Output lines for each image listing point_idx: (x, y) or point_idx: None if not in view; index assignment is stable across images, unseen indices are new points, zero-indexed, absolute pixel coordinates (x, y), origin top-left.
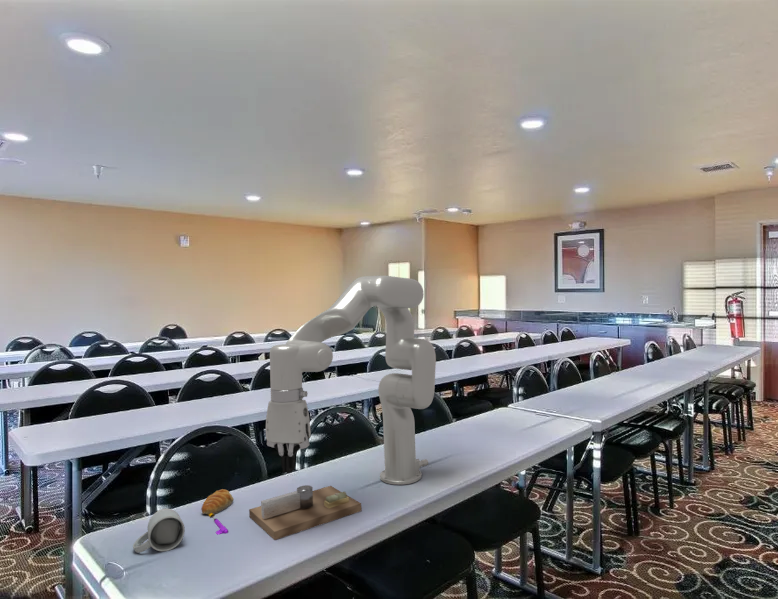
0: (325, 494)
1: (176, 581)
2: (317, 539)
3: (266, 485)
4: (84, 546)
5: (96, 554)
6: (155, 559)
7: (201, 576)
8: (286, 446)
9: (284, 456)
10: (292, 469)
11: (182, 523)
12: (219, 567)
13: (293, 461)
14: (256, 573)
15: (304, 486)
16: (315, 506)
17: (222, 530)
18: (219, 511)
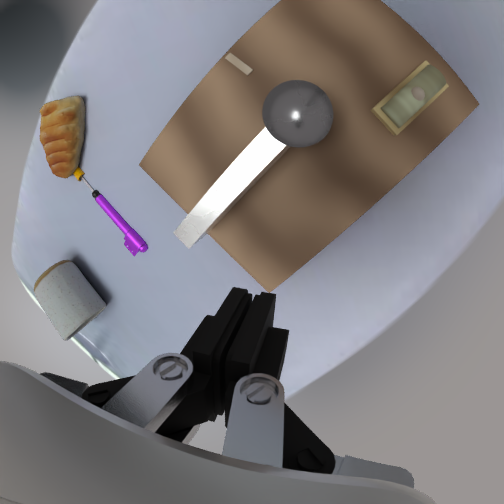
0: (340, 22)
1: None
2: (382, 276)
3: None
4: (26, 286)
5: None
6: (108, 330)
7: None
8: (168, 414)
9: (214, 419)
10: (272, 317)
11: (86, 319)
12: None
13: (278, 378)
14: (285, 385)
15: (288, 92)
16: (341, 117)
17: (136, 251)
18: (81, 148)
